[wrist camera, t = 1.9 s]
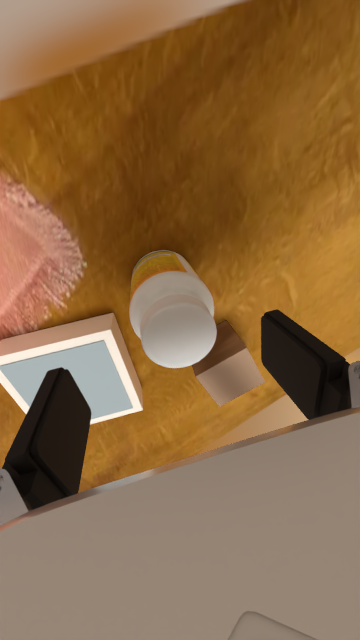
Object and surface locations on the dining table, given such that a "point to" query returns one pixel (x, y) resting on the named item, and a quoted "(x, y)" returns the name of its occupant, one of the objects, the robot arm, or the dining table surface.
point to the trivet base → (75, 365)
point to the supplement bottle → (171, 310)
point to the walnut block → (227, 367)
